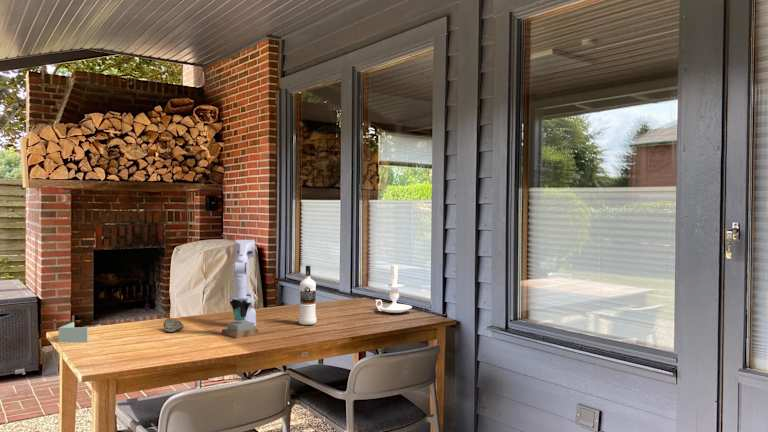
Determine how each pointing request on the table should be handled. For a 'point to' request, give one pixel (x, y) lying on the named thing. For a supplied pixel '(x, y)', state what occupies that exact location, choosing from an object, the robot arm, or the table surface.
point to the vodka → (307, 300)
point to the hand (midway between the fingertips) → (240, 316)
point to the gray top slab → (240, 326)
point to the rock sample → (172, 325)
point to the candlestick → (393, 295)
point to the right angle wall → (73, 333)
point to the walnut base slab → (239, 333)
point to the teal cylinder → (238, 314)
